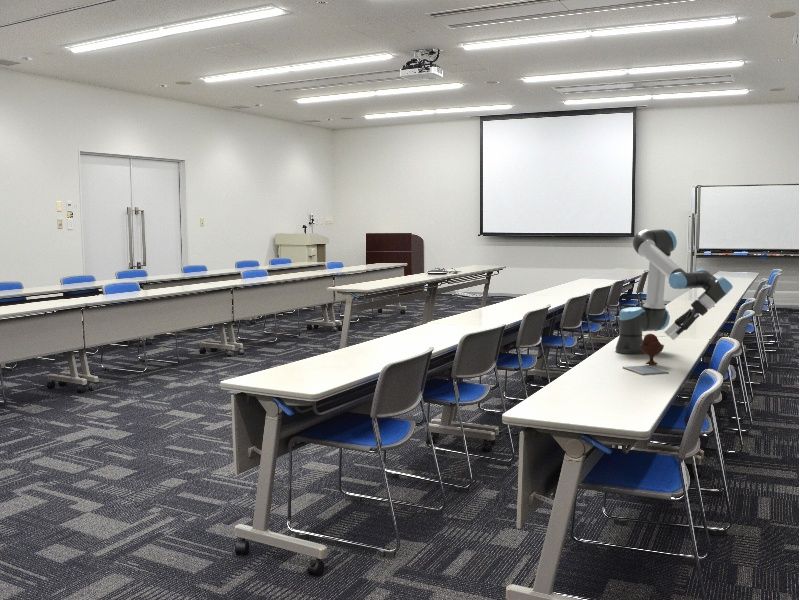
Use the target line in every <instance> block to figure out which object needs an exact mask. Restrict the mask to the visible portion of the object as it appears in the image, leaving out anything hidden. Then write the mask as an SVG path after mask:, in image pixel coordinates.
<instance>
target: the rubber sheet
mask: <svg viewBox="0 0 800 600" xmlns="http://www.w3.org/2000/svg"><path fill="white" fill-rule="evenodd" d="M622 369H624V370H627V371H629V372H632V371H633V372H632V373H635V372H636V374H638V373H639V375H641V374H642V376H647V375H646V374H652V375H661V374H660V373H666V374H669V373H670V372H669V371H668V370H665V369H661V368H658V367H654V366H653V365H646V364H645V365H633V366H632V365H630V366H622Z"/></svg>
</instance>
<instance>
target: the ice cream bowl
mask: <svg viewBox="0 0 800 600" xmlns="http://www.w3.org/2000/svg"><path fill="white" fill-rule="evenodd" d="M640 348H641V350H642V351H643V352H644V353H643V354H645V355H647V356H649V360H648V361H646V362H645V365H646V364H649V366H657V365H656V364H658V363H657V362H656V361H655V360H654V357H656V356H657V355H659V354H660V353H661V352H662V351H663V350H664V349H665V344H663V343H661V342H660V341H659V338H658V336H657V335H655V334H653V333H647V334H645V335H644V336H643V342H642V344H640Z"/></svg>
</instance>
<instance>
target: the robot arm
mask: <svg viewBox="0 0 800 600" xmlns="http://www.w3.org/2000/svg"><path fill="white" fill-rule="evenodd" d="M677 242H678V240H677V236H676V235H675V233H674V232H673V231H672V230H670V229H664V228H660V229H659V228H658V229H657V228H656V229H643V230H639V231H638V232H636V234H635V235H634V237H633V239H632V246H633V249H634V252H636V253H637V255H639V256H640V257H644V258H645V259H646V260H648V261H649V263H648V264H649V265H648V274H647V275H648V276H647V286H646V299H645V303H643V304H642V307H640V306H633V307H632V306H631V307H625V308H622V309H621V310H620V311H619V314H618V315H619V317H618V319H619V323H618V325H619V327H618V328H619V329H618V330H619V332H618V334H619V335H618V336H619V337H618V340H617V343H616V346H615V353H617V354H618V353H620V354H626V355H639V354H645V353H644V352H643V351H642V350H641V348H640V344H642V342H643V340H644V338H643V332H658V331H662V330H664V334H665V335H666V336H667V337H669V338H670V339H671V340H673V341H675V339H677V338H678V337H679V336H680V335H682V333H683V332H684V331H688V329H689V328H690V327H691V326H692V325H693V323H694V322H695V321H696V320H697V319H698V318H699V317H700V316H705V314H707V313H708V311H709V310H711V309H712V308H715V305H716V304H718V303H719V301H721V300H722V299H723V298H725V296H726V295H728V293H730V291H732V289H733V287H734V286H733V285H732V283H731V282H730V281H729V280H728V279H727V278H725V277H723V276H720V277H718V278H717V277H716V276H714V275H713V274H712V273H710V271H708V270H706V269H704V268H702V267H701V268H698V269H695V270H694V271H692V272H687V271H685V270H684V269H683V268H682V267H680V265H678V264H677V263H676V262H674V260H672V259H671V253H672V252H674V251H675V250H676V248H677V244H678V243H677ZM666 278H667V279H668V284H669V287H671V288H672V289H674V290H685V289H686V290H687V289H703V290H704V291H703V292H702V293H701V294H700V295H698V297H697V299H695V300H694V301H693V302H692V303H690V306H691V307H692V309H691V308H689V309H688V310H687V311H686V312H684V313H683V314H681V316H679V317H677V318H676V319H675V320H674V322H673V323H672V324H671V325H670V326H669V324H670V319H671V318H670V314H669V310H668V309H667V308H666V305H665V304H664V296H665V286H666ZM668 326H669V327H668ZM667 327H668V328H667ZM666 328H667V329H666ZM665 329H666V330H665Z"/></svg>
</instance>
